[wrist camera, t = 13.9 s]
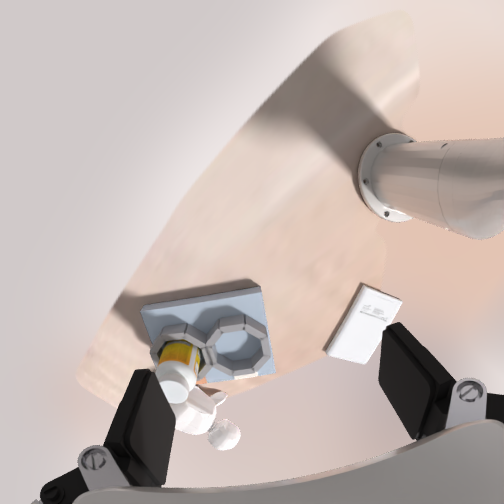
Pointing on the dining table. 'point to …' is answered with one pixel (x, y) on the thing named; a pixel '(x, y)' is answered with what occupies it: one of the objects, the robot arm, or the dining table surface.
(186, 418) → the white figurine
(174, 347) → the supplement bottle
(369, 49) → the dining table surface
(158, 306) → the socket board
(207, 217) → the dining table surface
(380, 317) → the external hard drive
